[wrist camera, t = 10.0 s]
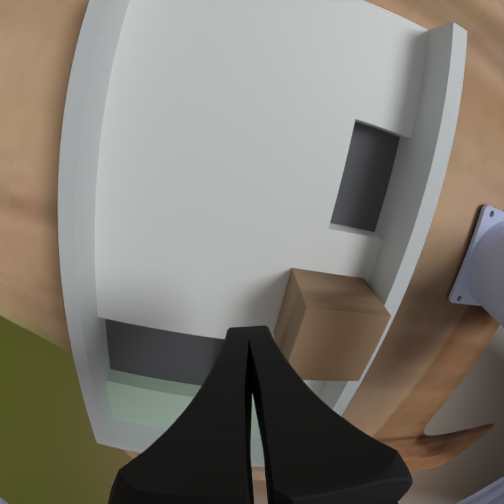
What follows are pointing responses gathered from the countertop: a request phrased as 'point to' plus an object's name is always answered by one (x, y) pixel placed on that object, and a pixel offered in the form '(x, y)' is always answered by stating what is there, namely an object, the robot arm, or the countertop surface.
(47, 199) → the countertop surface
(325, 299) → the walnut block
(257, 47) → the tray
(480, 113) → the countertop surface
